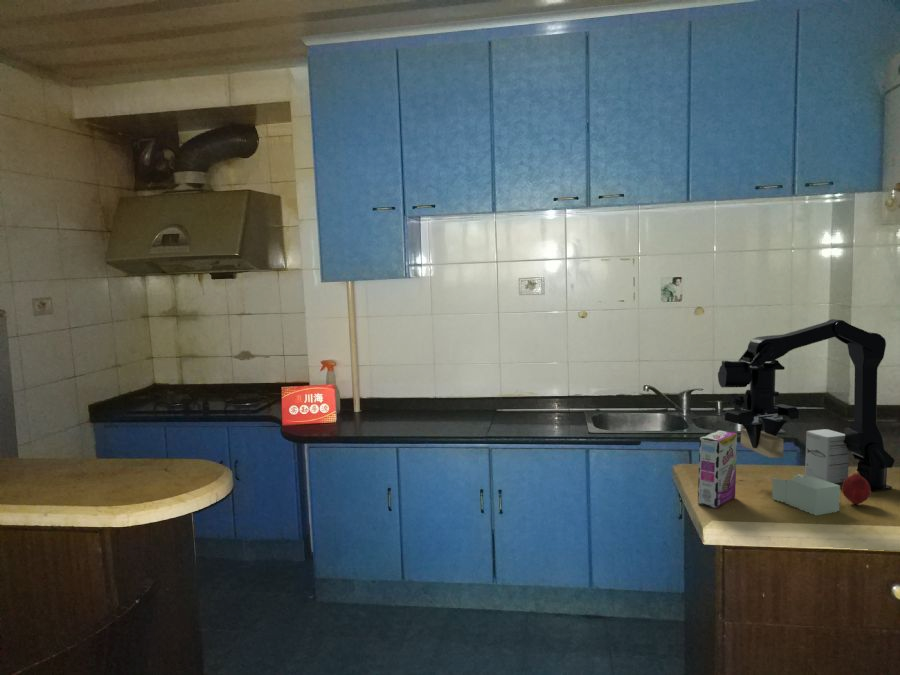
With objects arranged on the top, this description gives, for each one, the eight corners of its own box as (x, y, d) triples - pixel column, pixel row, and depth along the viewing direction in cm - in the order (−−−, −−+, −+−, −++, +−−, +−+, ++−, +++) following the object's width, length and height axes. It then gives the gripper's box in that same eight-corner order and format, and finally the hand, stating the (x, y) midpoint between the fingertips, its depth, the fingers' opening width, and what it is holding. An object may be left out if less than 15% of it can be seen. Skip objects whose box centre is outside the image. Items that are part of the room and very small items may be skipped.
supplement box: (803, 476, 174) (805, 430, 173) (826, 473, 176) (827, 428, 175) (826, 484, 167) (827, 436, 166) (849, 481, 169) (851, 434, 168)
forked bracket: (799, 494, 159) (799, 470, 159) (841, 510, 148) (842, 485, 148) (771, 499, 157) (771, 474, 156) (812, 515, 145) (813, 489, 145)
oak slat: (752, 444, 171) (752, 428, 171) (783, 456, 159) (783, 439, 159) (740, 445, 171) (740, 429, 170) (770, 457, 159) (770, 440, 158)
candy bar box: (717, 509, 151) (719, 440, 149) (696, 504, 154) (698, 437, 153) (737, 497, 158) (738, 432, 157) (716, 493, 162) (717, 429, 160)
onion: (874, 509, 149) (876, 475, 148) (847, 508, 150) (848, 474, 149) (864, 501, 154) (865, 468, 154) (837, 499, 156) (838, 467, 155)
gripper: (766, 380, 174) (765, 436, 175) (710, 384, 168) (709, 443, 170) (801, 386, 163) (799, 446, 165) (741, 391, 158) (740, 454, 159)
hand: (761, 447), depth 165 cm, fingers closed on oak slat, 4 cm apart
